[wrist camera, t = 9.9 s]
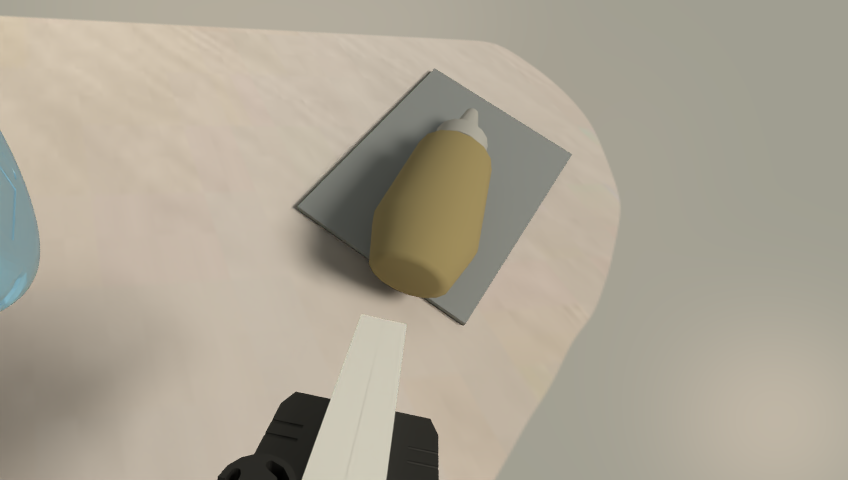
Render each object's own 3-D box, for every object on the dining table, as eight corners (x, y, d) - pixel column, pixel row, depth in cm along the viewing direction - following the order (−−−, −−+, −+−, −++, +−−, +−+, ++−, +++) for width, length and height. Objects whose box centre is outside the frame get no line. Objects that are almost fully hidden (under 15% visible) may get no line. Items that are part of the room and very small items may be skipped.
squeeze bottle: (370, 224, 25) (452, 55, 35) (341, 273, 32) (417, 120, 42) (487, 284, 27) (535, 105, 36) (435, 319, 33) (487, 160, 43)
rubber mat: (298, 209, 36) (297, 206, 35) (433, 72, 45) (434, 68, 44) (463, 325, 34) (465, 323, 33) (569, 157, 43) (572, 154, 43)
